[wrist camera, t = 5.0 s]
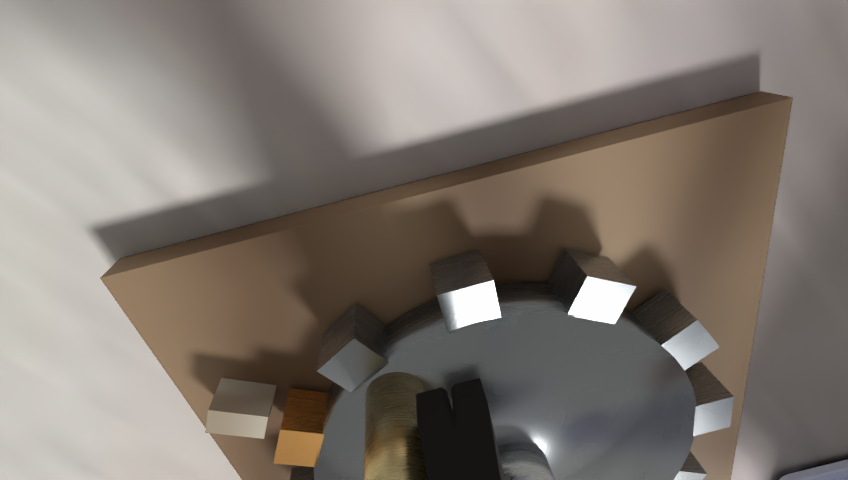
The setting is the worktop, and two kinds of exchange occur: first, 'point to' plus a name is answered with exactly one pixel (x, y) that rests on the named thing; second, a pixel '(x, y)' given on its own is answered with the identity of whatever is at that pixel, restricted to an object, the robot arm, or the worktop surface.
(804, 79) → the worktop surface
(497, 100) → the worktop surface
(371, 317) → the sprocket
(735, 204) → the sprocket base
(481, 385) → the robot arm
